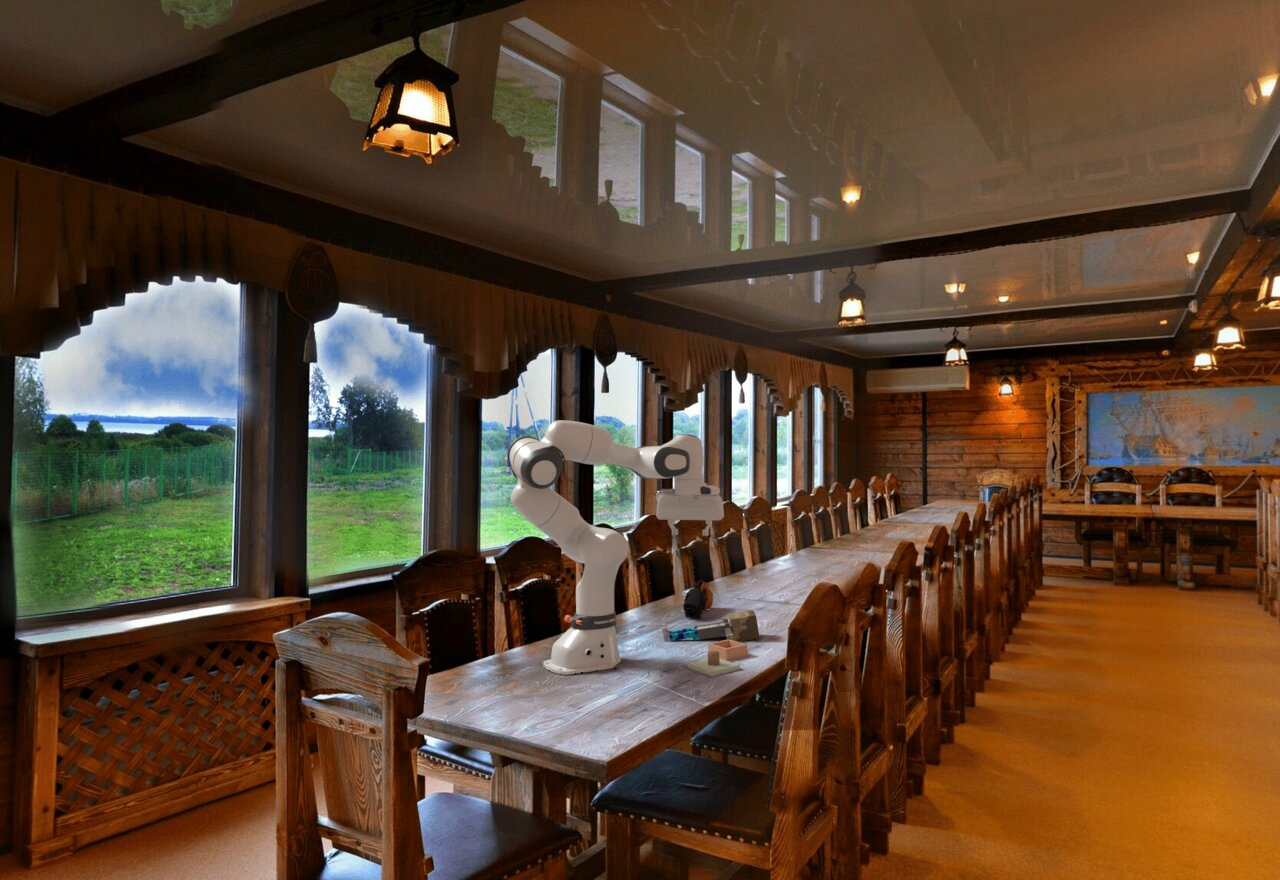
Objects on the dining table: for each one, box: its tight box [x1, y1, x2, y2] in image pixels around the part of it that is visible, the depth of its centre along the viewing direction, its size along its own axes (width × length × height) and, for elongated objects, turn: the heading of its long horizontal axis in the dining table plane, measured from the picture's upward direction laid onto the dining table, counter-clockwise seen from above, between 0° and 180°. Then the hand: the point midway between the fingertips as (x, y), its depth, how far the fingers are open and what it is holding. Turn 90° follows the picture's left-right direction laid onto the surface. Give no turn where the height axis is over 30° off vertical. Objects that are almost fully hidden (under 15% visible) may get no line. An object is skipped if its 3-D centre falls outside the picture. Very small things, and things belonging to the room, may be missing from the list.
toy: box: [661, 609, 761, 642], centre depth 247 cm, size 26×8×30 cm
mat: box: [683, 666, 746, 679], centre depth 210 cm, size 12×12×1 cm
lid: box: [687, 651, 741, 676], centre depth 210 cm, size 10×10×4 cm
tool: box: [682, 579, 714, 619], centre depth 283 cm, size 8×23×15 cm, turn 161°
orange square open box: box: [707, 639, 748, 661], centre depth 223 cm, size 8×8×4 cm
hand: (690, 535), depth 228 cm, fingers open, 8 cm apart
